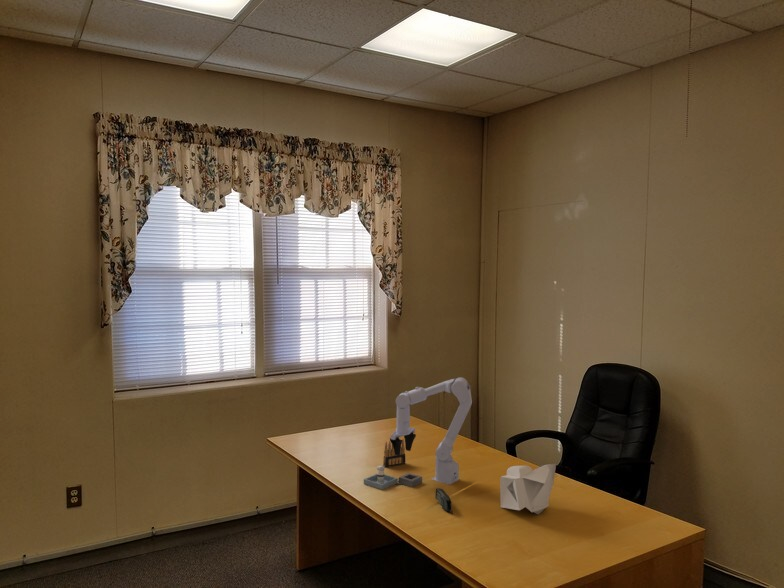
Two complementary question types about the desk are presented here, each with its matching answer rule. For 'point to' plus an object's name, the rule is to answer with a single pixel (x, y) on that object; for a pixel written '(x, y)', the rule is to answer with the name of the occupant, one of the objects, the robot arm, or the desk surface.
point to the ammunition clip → (393, 456)
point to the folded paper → (527, 487)
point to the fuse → (380, 474)
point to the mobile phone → (443, 499)
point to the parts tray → (373, 483)
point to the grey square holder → (410, 480)
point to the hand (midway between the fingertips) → (402, 452)
